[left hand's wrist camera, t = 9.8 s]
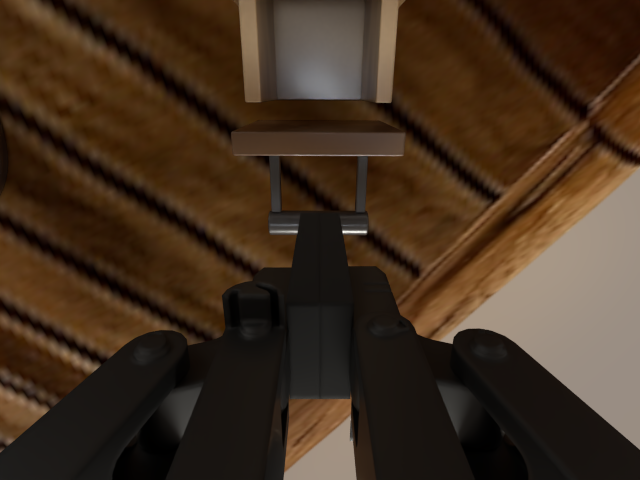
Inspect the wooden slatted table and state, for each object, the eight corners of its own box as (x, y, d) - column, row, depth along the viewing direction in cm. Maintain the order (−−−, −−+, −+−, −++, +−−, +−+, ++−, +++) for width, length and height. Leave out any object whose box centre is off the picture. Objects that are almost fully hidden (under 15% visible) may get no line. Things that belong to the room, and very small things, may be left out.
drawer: (374, 211, 29) (395, 256, 21) (262, 211, 29) (241, 255, 21) (397, -155, 21) (445, -309, 13) (241, -156, 21) (193, -310, 13)
